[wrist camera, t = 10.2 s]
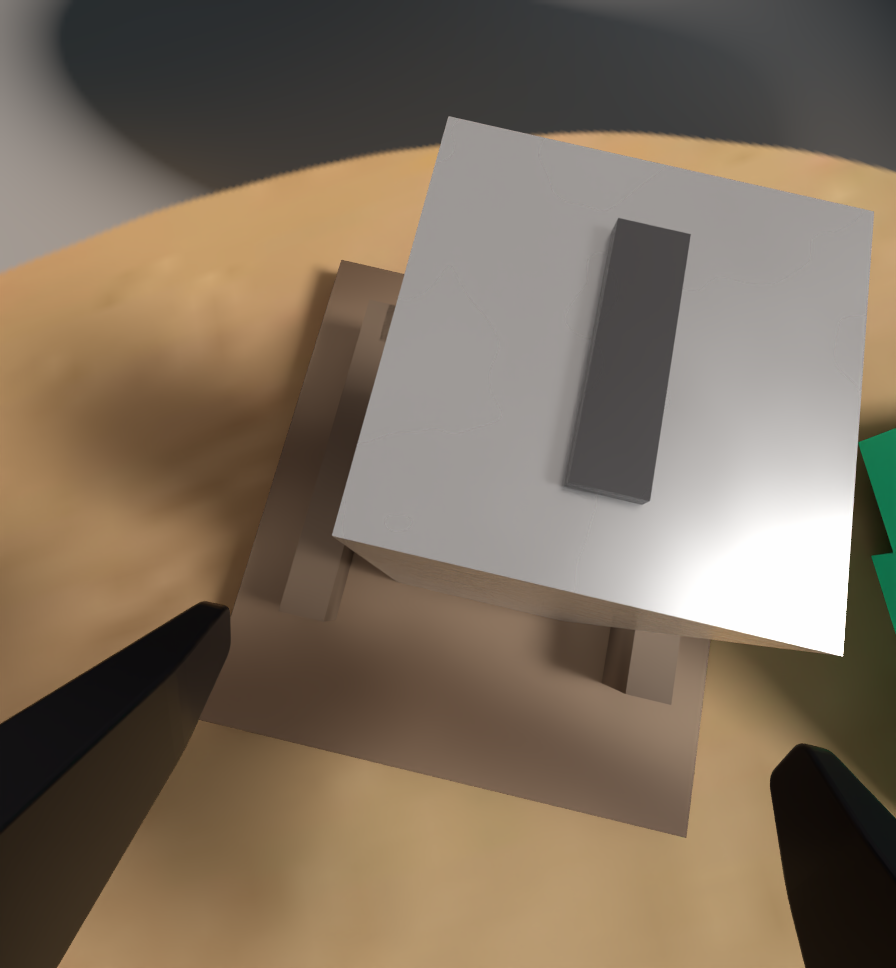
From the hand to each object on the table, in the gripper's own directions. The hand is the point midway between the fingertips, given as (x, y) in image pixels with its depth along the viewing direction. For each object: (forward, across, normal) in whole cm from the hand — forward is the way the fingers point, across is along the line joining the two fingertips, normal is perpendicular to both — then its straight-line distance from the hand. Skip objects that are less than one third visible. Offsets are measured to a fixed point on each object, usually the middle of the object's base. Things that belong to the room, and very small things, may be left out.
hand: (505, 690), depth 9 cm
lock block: (+8, 0, +3) cm, 9 cm away
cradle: (+9, 0, +3) cm, 10 cm away
